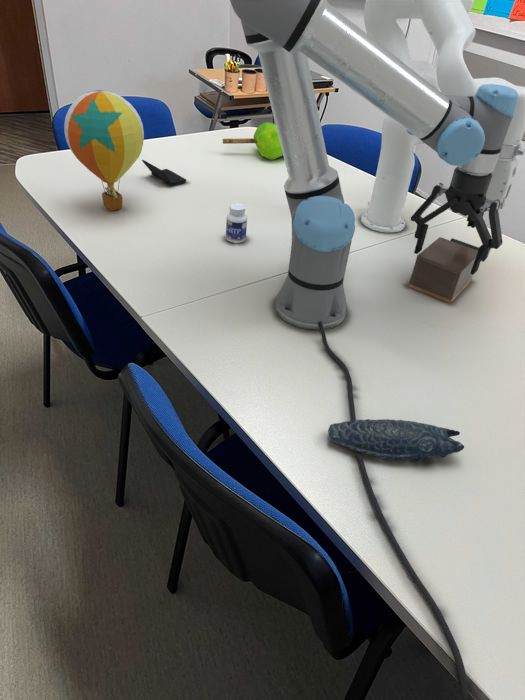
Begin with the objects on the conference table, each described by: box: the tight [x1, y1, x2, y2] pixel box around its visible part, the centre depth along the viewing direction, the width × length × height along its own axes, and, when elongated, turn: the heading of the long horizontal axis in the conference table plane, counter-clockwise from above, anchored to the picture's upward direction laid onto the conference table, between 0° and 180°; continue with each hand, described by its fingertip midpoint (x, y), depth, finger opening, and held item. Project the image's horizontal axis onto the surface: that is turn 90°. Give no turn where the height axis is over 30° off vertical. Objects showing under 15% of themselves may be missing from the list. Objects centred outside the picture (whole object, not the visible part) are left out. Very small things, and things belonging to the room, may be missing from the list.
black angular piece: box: [141, 159, 187, 187], centre depth 162 cm, size 12×7×10 cm
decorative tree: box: [222, 121, 283, 161], centre depth 186 cm, size 18×10×30 cm
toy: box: [63, 89, 145, 212], centre depth 136 cm, size 20×20×30 cm
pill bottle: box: [225, 203, 248, 244], centre depth 133 cm, size 5×5×9 cm
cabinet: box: [407, 236, 478, 304], centre depth 123 cm, size 13×11×8 cm
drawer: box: [450, 237, 480, 250], centre depth 127 cm, size 18×9×6 cm, turn 142°
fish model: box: [327, 418, 465, 461], centre depth 82 cm, size 7×21×5 cm, turn 84°
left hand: (445, 261), depth 119 cm, fingers open, 13 cm apart
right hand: (472, 225), depth 126 cm, fingers closed
